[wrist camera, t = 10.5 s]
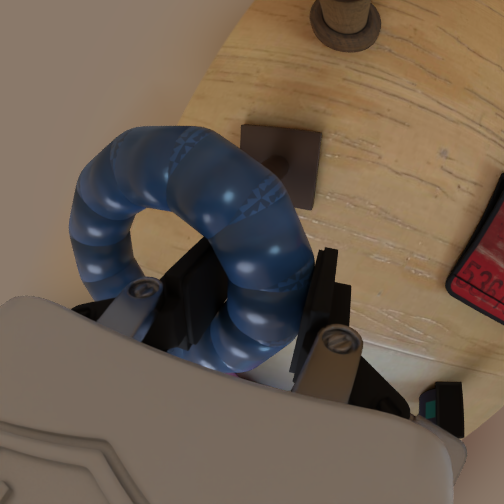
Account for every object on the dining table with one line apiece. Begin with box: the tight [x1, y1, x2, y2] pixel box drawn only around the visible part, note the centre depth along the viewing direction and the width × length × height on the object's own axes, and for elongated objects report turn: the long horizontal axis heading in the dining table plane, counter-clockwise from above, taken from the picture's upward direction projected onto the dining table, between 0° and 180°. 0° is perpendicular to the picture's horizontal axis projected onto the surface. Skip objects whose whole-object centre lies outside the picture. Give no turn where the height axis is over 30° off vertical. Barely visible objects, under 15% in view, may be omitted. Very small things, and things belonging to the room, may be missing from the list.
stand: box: [240, 124, 322, 210], centre depth 25 cm, size 8×8×10 cm
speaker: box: [419, 382, 464, 439], centre depth 32 cm, size 8×6×10 cm
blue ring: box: [69, 126, 315, 373], centre depth 12 cm, size 11×11×3 cm
